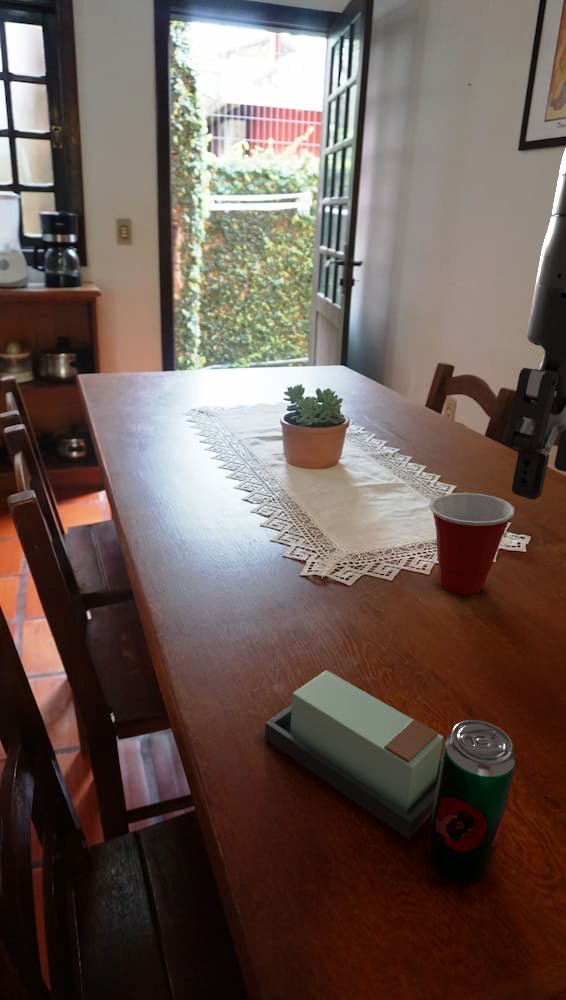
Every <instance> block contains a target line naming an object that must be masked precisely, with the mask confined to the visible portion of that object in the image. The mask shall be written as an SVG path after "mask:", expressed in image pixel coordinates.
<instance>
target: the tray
mask: <svg viewBox="0 0 566 1000" xmlns="http://www.w3.org/2000/svg"><path fill="white" fill-rule="evenodd" d="M291 711H292V704H290V705H289V706H288V707H286V708H284V709H283V710H282V711H280V712H279V713H277V714H276V715H275V716H273V717H272V718H270V719H269V720H267V721H266V722H265V725H264V739H265V740H266V741H268V743H271V745H273V746H275V747H276V748H277V749H279V750H280V751H281V752H283V753H284V754H286V755H287V756H289V757H290V758H292V759H293V760H295V762H298V763H299V764H300V765H301V766H303V767H304V768H306V769H307V770H308V771H310V772H311V773H313V774H315V776H317V777H318V778H320V779H322V780H323V781H324V782H326V783H327V784H329V785H330V786H332V787H333V788H334V789H336V790H337V791H339V792H340V793H342V795H345V796H346V797H347V798H348V799H350V800H351V801H353V802H354V803H356V804H357V805H359V806H360V807H361V808H363V809H364V810H365V811H367V812H368V813H370V814H371V815H373V816H374V817H375V818H377V819H378V820H380V821H381V822H383V823H384V824H385V825H387V826H388V827H390V828H391V829H393V830H394V831H396V832H397V833H399V834H400V835H401V836H403V838H405V839H407V840H408V841H409V840H410V839H411V838H412V837H413V836H414V835H415V834H416V833H417V832H418V831H419V829H420V828H422V826H423V825H424V824H425V823H426V822H427V820H429V818H431V817H432V812H433V806H434V800H435V794H436V789H437V783H438V777H439V771H440V766H441V760H442V754H440V760H439V766H438V772H437V778H436V781H435V782H434V783H433V784H432V785H431V786H430V788H429V789H428V790H427V791H426V792H425V793H424V794H423V795H422V796H421V797H420V798H419V799H418V800H417V801H416V802H415V803H414V804H413V806H412V807H411V808H410V809H409V810H408V811H407V812H405V811H403V810H402V809H400V808H399V807H397V806H396V805H394V804H393V803H391V802H390V801H388V800H387V799H385V798H384V797H383V796H381V795H380V794H378V793H377V792H375V791H374V790H372V789H371V788H369V787H368V786H366V785H365V784H363V783H362V782H360V781H359V780H357V779H356V778H354V777H353V776H351V775H350V774H349V773H347V772H346V771H344V770H343V769H341V768H340V767H338V766H337V765H335V764H334V763H332V762H331V761H329V760H328V759H326V758H325V757H323V756H322V755H320V754H319V753H317V752H316V751H315V750H313V749H312V748H310V747H309V746H307V745H306V744H304V743H303V742H301V741H300V740H298V739H297V738H295V737H294V736H292V735H291V734H290V728H291Z"/></svg>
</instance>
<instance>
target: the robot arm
mask: <svg viewBox="0 0 566 1000" xmlns="http://www.w3.org/2000/svg"><path fill="white" fill-rule="evenodd" d="M551 215H552V216H550V220H549V221H550V222H549V224H548V228H547V232H546V235H545V237H544V240H543V244H542V247H541V252H540V258H539V264H538V270H537V273H536V279H535V280H536V281H535V287H534V292H533V298H532V301H531V302H532V303H531V308H530V313H529V319H528V325H527V331H526V337H527V341H528V342H530V343H531V344H533V345H535V346H540V347H541V348H542V349H543V351H544V354H543V356H542V359H541V362H540V366H539V368H538V369H536V368H529V367H523V368H521V370H520V372H519V374H518V378H517V380H518V381H517V385H516V389H515V393H514V400H513V404H512V409H511V413H510V419H509V424H508V428H507V434H506V438H505V445H506V446H507V447H512V448H514V449H517V450H518V453H517V459H516V463H515V468H514V474H513V479H512V485H511V491H512V493H513V494H514V495H516V496H518V497H522V498H524V499H525V498H526V499H529V500H536V499H538V498H539V497H541V496H542V494H543V489H544V485H545V479H546V474H547V470H548V464H549V460H550V453H551V451H552V449H553V447H554V444H555V441H556V440H557V438H558V435H559V434H560V435H559V440H558V444H557V448H556V453H555V459H554V465H553V466H554V468H555V469H556V470H557V471H561V472H565V473H566V148H564V152H563V155H562V158H561V163H560V167H559V174H558V178H557V184H556V189H555V195H554V200H553V206H552V211H551ZM532 433H533V434H532Z"/></svg>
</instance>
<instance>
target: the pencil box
mask: <svg viewBox="0 0 566 1000" xmlns="http://www.w3.org/2000/svg"><path fill="white" fill-rule="evenodd" d="M291 696H292V698H291V705H292V711H291V728H290V734H291V735H292V736H294V737H295V738H297V739H298V740H300V741H301V742H303V743H304V744H306V745H307V746H309V747H310V748H312V749H313V750H315V751H316V752H317V753H319V754H320V755H322V756H323V757H325V758H326V759H328V760H329V761H331V762H332V763H334V764H335V765H337V766H338V767H340V768H341V769H343V770H344V771H346V772H347V773H349V774H350V775H351V776H353V777H354V778H356V779H357V780H359V781H360V782H362V783H363V784H365V785H366V786H368V787H369V788H371V789H372V790H374V791H375V792H377V793H378V794H380V795H381V796H383V797H384V798H385V799H387V800H388V801H390V802H391V803H393V804H394V805H396V806H397V807H399V808H400V809H402V810H403V811H405V812H407V811H408V810H409V809H410V808H411V807H412V806H413V804H414V803H415V802H416V801H417V800H418V799H419V798H420V797H421V796H422V795H423V794H424V793H425V792H426V791H427V790H428V789H429V788H430V786H431V785H432V784H433V783H434V782H435V781H436V778H437V772H438V766H439V760H440V755H442V754H441V753H442V750H443V744H444V736H443V735H441V734H439V732H438V731H435V730H434V729H432V728H431V727H429V726H427V725H426V724H423V723H422V722H420V721H418V720H417V719H415V718H414V719H413V718H411V717H410V716H408V715H406V714H404V713H403V712H400V711H399V710H397V709H396V708H394V707H392V706H390V705H388V704H387V703H385V702H383V701H381V700H379V699H378V698H376V697H374V696H372V695H371V694H369V693H367V692H366V691H364V690H362V689H360V688H358V687H357V686H355V685H353V684H351V683H350V682H348V681H346V680H345V679H343V678H341V677H339V676H338V675H336V674H334V673H332V672H331V671H330V670H327V669H326V670H324V671H323V672H321V673H320V674H318V675H317V676H316V677H314V678H312V679H311V680H309V681H308V682H307V683H305V684H304V685H302V686H301V687H299V688H298V689H297V690H295V691H294V692H292V695H291Z"/></svg>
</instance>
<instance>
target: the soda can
mask: <svg viewBox="0 0 566 1000" xmlns="http://www.w3.org/2000/svg"><path fill="white" fill-rule="evenodd" d="M441 756H442V760H441V766H440V771H439V777H438V783H437V789H436V794H435V800H434V806H433V812H432V815H431V816H430V824H429V830H428V835H427V842H426V855H427V857H428V860H429V861H430V863H431V865H432V866H433V868H434V869H435V870H436V871H437V872H438V873H439V874H441V875H442V876H443V877H444V878H446V879H448V880H449V881H452V882H454V883H458V884H464V885H471V884H476V883H480V882H481V881H484V880H485V879H486V878H488V876H489V875H490V873H491V872H492V870H493V865H494V861H495V857H496V853H497V848H498V844H499V840H500V835H501V831H502V826H503V822H504V819H505V813H506V809H507V804H508V800H509V796H510V793H511V792H510V791H511V786H512V782H513V778H514V773H515V770H516V765H517V757H516V754H515V751H514V745H513V742H512V739H511V737H510V736H509V734H507V733H506V732H505V731H504V730H503V729H502V728H500V727H499V726H497V725H495V724H494V723H493V724H492V723H490V722H487V721H484V720H478V719H468V720H463V721H460V722H458V723H457V724H456V725H454V727H453V728H452V730H451V732H450V733H449V734H448V735H447V736H446V737H445V739H444V741H443V747H442V754H441Z"/></svg>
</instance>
